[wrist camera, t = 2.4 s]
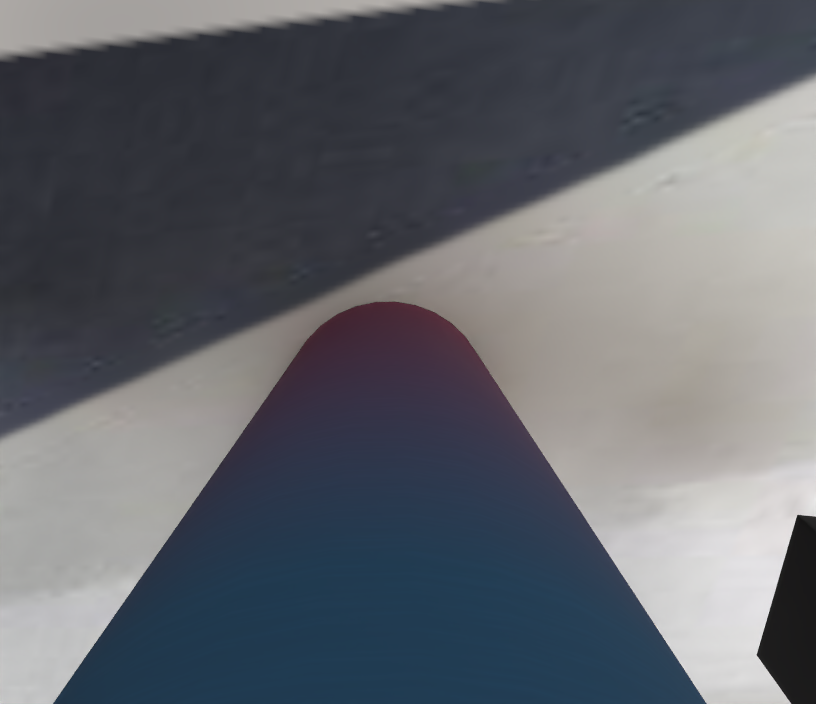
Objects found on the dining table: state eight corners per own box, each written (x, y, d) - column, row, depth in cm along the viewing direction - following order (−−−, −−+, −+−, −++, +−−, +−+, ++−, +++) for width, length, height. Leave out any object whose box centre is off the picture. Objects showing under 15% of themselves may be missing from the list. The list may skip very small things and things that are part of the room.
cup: (403, 204, 17) (483, 610, 2) (575, 411, 18) (1266, 1421, 4) (195, 384, 18) (-633, 1415, 3) (374, 564, 19) (326, 1788, 5)
